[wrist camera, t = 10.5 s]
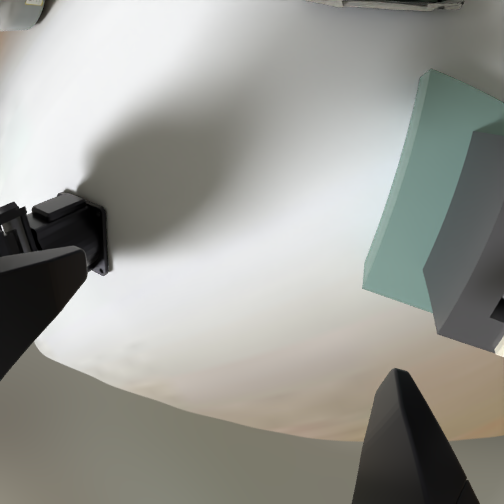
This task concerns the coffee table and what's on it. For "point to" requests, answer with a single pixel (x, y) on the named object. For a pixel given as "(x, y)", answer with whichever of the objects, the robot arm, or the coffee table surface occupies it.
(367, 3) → the miniature car
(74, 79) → the coffee table surface
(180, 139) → the coffee table surface
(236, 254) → the coffee table surface
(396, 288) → the shaft pedestal
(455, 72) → the coffee table surface
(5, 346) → the robot arm
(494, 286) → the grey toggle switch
